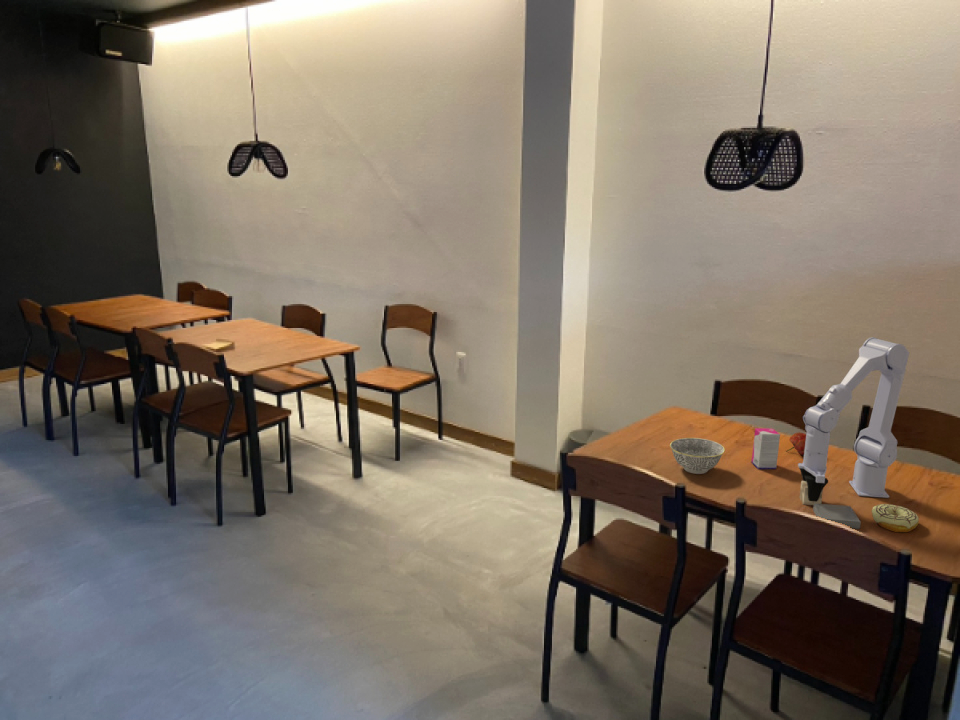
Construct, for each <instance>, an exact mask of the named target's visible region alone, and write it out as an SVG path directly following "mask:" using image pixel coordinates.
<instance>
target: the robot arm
mask: <svg viewBox="0 0 960 720" xmlns="http://www.w3.org/2000/svg"><path fill="white" fill-rule="evenodd" d="M909 356H910V352H909V350H908V349H907V348H906V346H905V345H904V344H901V343H895V342H892V341H888V340H883V339H879V338H878V337H873V336H872V337H868V338H867V339H866V340H865V341H864V342H863V344H862V346H860V347H859V349H858V357H857V360H856V361H855V362H854V363H853V365H852V367H851V368H850V369H849V371H848V372H847V373H846V375H845V376H844V378H843V379H842V380H841V382H840V383H838V384H833V385H831V387H830V388H829V389H828V391H826V393H825V394H824V395H823V397H821V399H820V400H819V401H818V402H817V404H816V405H813V406H811V407H809V408H808V409H806V411H804V412H805V413H804V415H803V416H802V420H803V423H804V424H805V427H804V429H805V431H806V433H805V434H806V442H805V451H804V455H803V458H802V459H803V461H802V462H799V463H798V464H797V467H798V469H799V471H800V473H801V477H802V481H806V482H807V486H808V499H809V501H816V502H817V501H818V499H819V496H820V494H821V492H822V490H823V491H824V488H825V487H826V485H827V484H828V483H829V479H828V477H826V473H827V468H828V467H827V464H828V463H827V462H828V455H829V453H828V452H829V448H830V447H829V445H830V437H831V432H832V430H834V429H835V428H836V427H837V424H838V421H839V418H840V416H841V415H840V413H842V411H843V410H844V409H845V408H846V406H847V405H848V404H849V403H850V401H851V400H852V399H853V393H852V392H853V391H854V390H855V389H856V388H857V386H858V385H860V384H861V383H862V382H863V380H864V379H865V378H867V377H868V376H869V374H870V373H871V372H873V371H879V372H880V377H879V382H878V386H877V391H876V395H875V398H874V401H873V402H874V403H873V408H872V411H871V415H870V418H869V419H870V420H869V423H868V427H866V428H863V429H861V430H860V431H859V434H858V437H857V438H856V440H855V441H854V445H853V451H854V453H855V455H856V457H857V460H856V461H855V463H854V470H853V476H852V480H849V481H848V482H849V484H850V486H851V487H852V488H853V490H854V491H855V493H856V494H857V496H859V497H871V498H885V499H889V498H890V495H889V494H888V493H887V491H886V483H887V482H886V481H887V475H888V468H889V467H890V466H892V464H893V463H894V462H895V461H896V460H897V457H898V449H897V448H898V447H897V445H898V439H896V437H895V436H894V434H893V432H892V427H893V424H894V418H895V415H896V411H897V407H898V402H899V398H900V393H901V390H902V386H903V382H904V378H905V374H906V368H907V364H908V359H909ZM858 387H859V386H858Z"/></svg>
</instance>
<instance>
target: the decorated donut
mask: <svg viewBox="0 0 960 720" xmlns="http://www.w3.org/2000/svg"><path fill="white" fill-rule="evenodd" d="M871 515H872V519H873V520H874V522H875V523H876V524H878V525H879V526H880V527H881V528H883V529H886V530H888V531H890V532H891V531H892V532H894V533H909V532H912V531H913V530H914V529H916V528H917V526H918V525H919V519H920V518H919V516H918V515H917V513H915V512H914V511H912V510H911V509H910V508H907V507H904V506H900V505H894V504H887V503H881V504H877V505H874V506H873V507H872V510H871Z"/></svg>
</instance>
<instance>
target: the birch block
mask: <svg viewBox="0 0 960 720" xmlns="http://www.w3.org/2000/svg"><path fill="white" fill-rule="evenodd" d="M823 492H824V489H823V490H822V492H821V494H820V496H819V499H818V501H817V502H816V501H809V499H808V486H807V482H806V481H803V480H801V482H800V490H799V499H800V501H801V504H802V505H808V506H814V503H816V504H822V501H823V500H822V499H823V494H824V493H823Z"/></svg>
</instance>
